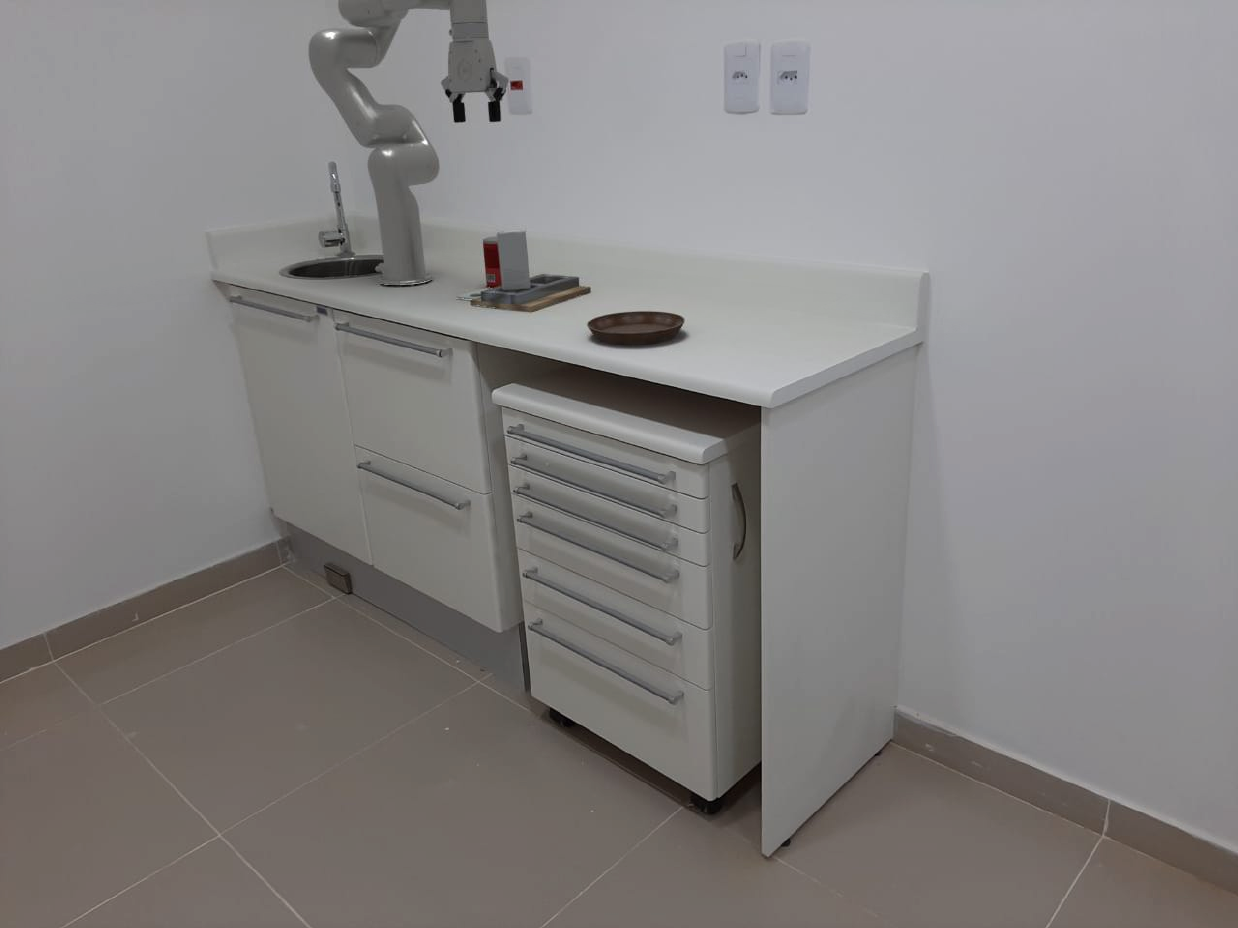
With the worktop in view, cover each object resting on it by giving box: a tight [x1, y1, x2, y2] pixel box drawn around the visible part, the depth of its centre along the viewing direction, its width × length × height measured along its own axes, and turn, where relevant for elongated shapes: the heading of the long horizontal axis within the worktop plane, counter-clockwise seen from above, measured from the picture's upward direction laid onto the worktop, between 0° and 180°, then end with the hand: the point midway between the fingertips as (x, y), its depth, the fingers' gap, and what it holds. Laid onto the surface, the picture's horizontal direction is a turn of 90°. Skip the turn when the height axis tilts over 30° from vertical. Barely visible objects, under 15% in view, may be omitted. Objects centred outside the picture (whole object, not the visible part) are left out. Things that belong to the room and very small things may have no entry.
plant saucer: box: [586, 310, 685, 346], centre depth 175 cm, size 18×18×3 cm
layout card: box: [455, 287, 489, 299], centre depth 214 cm, size 7×10×1 cm
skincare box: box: [496, 228, 531, 290], centre depth 202 cm, size 6×4×12 cm
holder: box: [469, 273, 592, 313], centre depth 209 cm, size 16×22×3 cm
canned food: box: [482, 235, 502, 289], centre depth 222 cm, size 8×8×11 cm
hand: (477, 122), depth 205 cm, fingers open, 9 cm apart
